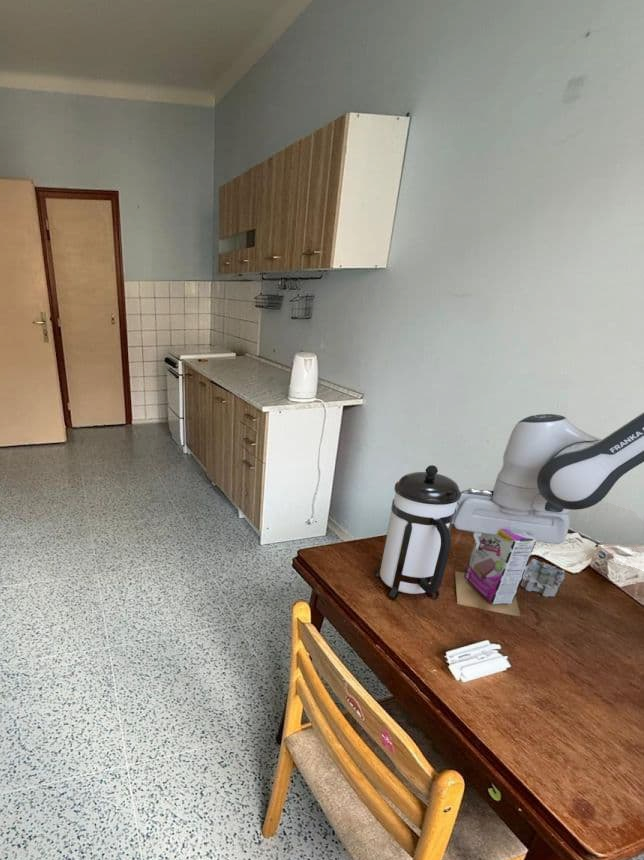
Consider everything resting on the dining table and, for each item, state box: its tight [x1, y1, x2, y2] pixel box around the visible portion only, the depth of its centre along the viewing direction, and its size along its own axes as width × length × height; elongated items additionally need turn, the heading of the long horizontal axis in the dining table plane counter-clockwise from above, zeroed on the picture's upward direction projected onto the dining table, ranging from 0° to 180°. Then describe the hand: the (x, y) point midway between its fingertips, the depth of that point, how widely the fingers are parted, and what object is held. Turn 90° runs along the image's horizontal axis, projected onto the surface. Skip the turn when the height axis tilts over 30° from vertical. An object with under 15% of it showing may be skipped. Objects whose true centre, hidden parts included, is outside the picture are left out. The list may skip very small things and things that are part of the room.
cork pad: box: [454, 570, 521, 618], centre depth 108 cm, size 12×14×1 cm
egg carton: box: [520, 558, 566, 598], centre depth 110 cm, size 11×8×4 cm
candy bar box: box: [464, 529, 538, 605], centre depth 103 cm, size 11×5×16 cm, turn 4°
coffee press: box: [373, 465, 462, 601], centre depth 103 cm, size 17×16×30 cm
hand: (498, 552), depth 103 cm, fingers closed on candy bar box, 6 cm apart
